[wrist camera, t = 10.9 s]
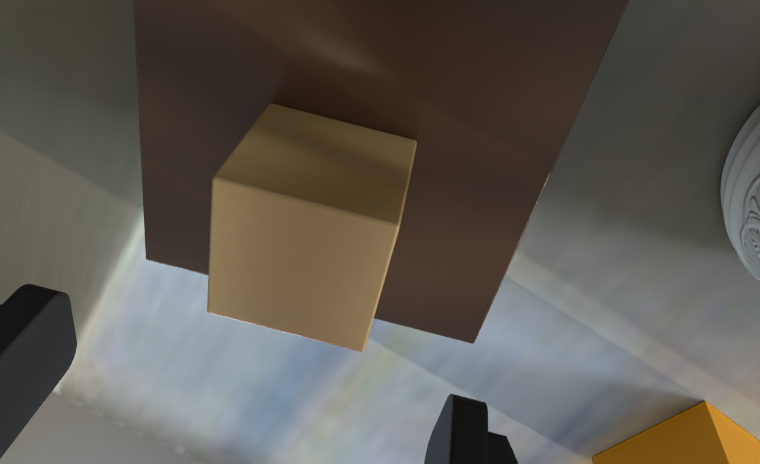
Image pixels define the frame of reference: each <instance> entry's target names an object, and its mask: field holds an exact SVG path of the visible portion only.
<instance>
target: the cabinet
mask: <svg viewBox="0 0 760 464" xmlns="http://www.w3.org/2000/svg"><path fill="white" fill-rule="evenodd" d="M133 1H134V22H135V42H136V63H137V83H138V104H139V124H140V145H141V165H142V186H143V206H144V227H145V247H146V259H147V260H149V261H153V262H157V263H161V264H165V265H169V266H173V267H176V268H180V269H184V270H188V271H192V272H196V273H200V274H204V275H208V276H209V251H210V224H211V198H212V178H213V176H214V175H215V174H216V173H217V171H218V170H219V169H220V167H221V166H222V165H223V163H224V162H225V161H226V159H227V158H228V157H229V156H230V154H231V153H232V152H233V150H234V149H235V148H236V146H237V145H238V144H239V143H240V141H241V140H242V139H243V137H244V136H245V135H246V133H247V132H248V131H249V129H250V128H251V127H252V126H253V124H254V123H255V122H256V120H257V119H258V118H259V116H260V115H261V114H262V112H263V111H264V110H265V109H266V107H267V106H268V105H269V104H270V103H273V104H277V105H281V106H285V107H288V108H292V109H296V110H300V111H304V112H308V113H312V114H315V115H319V116H323V117H327V118H331V119H335V120H339V121H343V122H346V123H350V124H354V125H358V126H362V127H366V128H370V129H373V130H377V131H381V132H385V133H389V134H393V135H397V136H401V137H404V138H408V139H412V140H415V141H416V142H417V146H416V151H415V155H414V160H413V165H412V170H411V175H410V180H409V185H408V190H407V194H406V199H405V204H404V209H403V214H402V219H401V224H400V228H399V232H398V235H397V239H396V242H395V246H394V249H393V253H392V256H391V260H390V263H389V267H388V270H387V274H386V277H385V281H384V284H383V288H382V291H381V295H380V298H379V302H378V305H377V309H376V312H375V316H374V318H375V319H379V320H383V321H387V322H390V323H394V324H398V325H402V326H406V327H410V328H414V329H418V330H422V331H425V332H429V333H433V334H437V335H441V336H445V337H449V338H453V339H457V340H461V341H464V342H468V343H474V342H475V340H476V338H477V336H478V333H479V331H480V329H481V327H482V325H483V322H484V320H485V318H486V316H487V313H488V311H489V309H490V307H491V305H492V302H493V300H494V298H495V296H496V294H497V291H498V289H499V287H500V285H501V282H502V280H503V278H504V276H505V274H506V271H507V269H508V267H509V265H510V262H511V260H512V258H513V256H514V254H515V251H516V249H517V247H518V245H519V243H520V240H521V238H522V236H523V234H524V231H525V229H526V227H527V225H528V223H529V220H530V218H531V216H532V214H533V212H534V209H535V207H536V205H537V203H538V200H539V198H540V196H541V194H542V192H543V189H544V187H545V185H546V183H547V181H548V178H549V176H550V174H551V172H552V169H553V167H554V165H555V163H556V161H557V158H558V156H559V154H560V152H561V149H562V147H563V145H564V143H565V141H566V138H567V136H568V134H569V132H570V130H571V127H572V125H573V123H574V121H575V118H576V116H577V114H578V112H579V110H580V107H581V105H582V103H583V101H584V99H585V96H586V94H587V92H588V90H589V87H590V85H591V83H592V81H593V79H594V76H595V74H596V72H597V70H598V68H599V65H600V63H601V61H602V59H603V56H604V54H605V52H606V50H607V48H608V45H609V43H610V41H611V39H612V36H613V34H614V32H615V30H616V28H617V25H618V23H619V21H620V19H621V17H622V14H623V12H624V10H625V8H626V5H627V3H628V1H629V0H133Z"/></svg>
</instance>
